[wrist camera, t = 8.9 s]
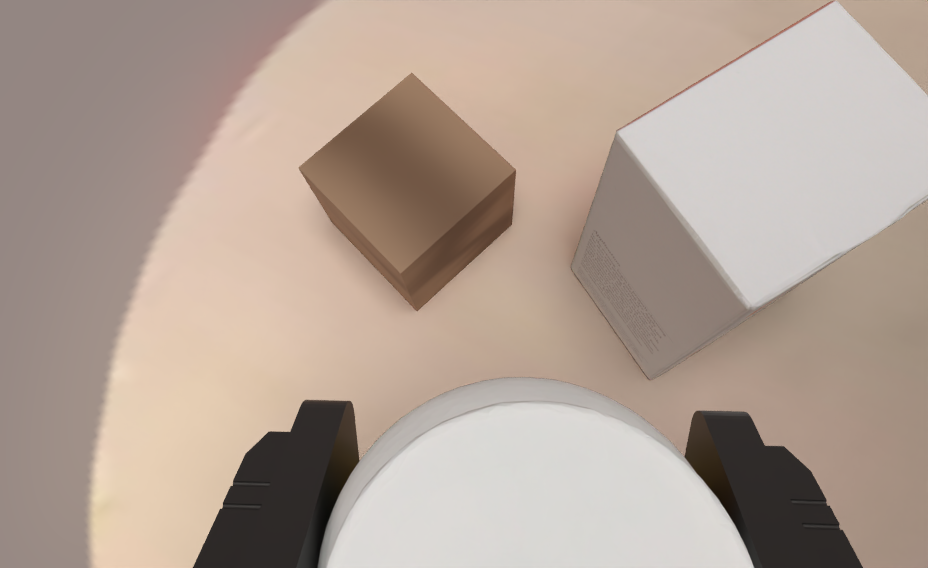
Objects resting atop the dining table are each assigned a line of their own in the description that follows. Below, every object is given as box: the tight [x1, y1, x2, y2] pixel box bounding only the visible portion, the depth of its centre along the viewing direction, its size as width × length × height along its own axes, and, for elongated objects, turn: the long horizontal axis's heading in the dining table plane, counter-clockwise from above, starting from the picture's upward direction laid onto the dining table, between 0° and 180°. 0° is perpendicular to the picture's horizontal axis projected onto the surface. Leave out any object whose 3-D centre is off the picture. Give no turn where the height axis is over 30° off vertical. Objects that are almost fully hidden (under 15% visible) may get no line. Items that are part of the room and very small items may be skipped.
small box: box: [571, 1, 928, 380], centre depth 25 cm, size 8×6×13 cm
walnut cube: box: [299, 73, 516, 311], centre depth 30 cm, size 6×6×6 cm
